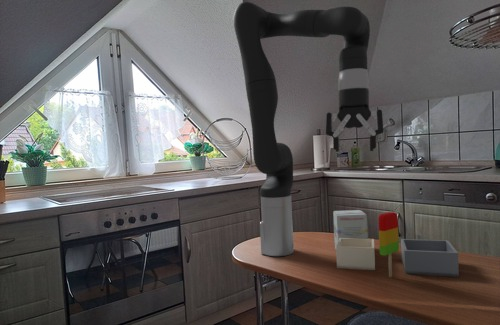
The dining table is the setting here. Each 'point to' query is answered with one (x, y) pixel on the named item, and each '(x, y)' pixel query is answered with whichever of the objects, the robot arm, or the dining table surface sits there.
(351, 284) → the dining table surface
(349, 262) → the cream open box
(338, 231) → the ink box
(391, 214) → the popsicle
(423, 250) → the caddy
